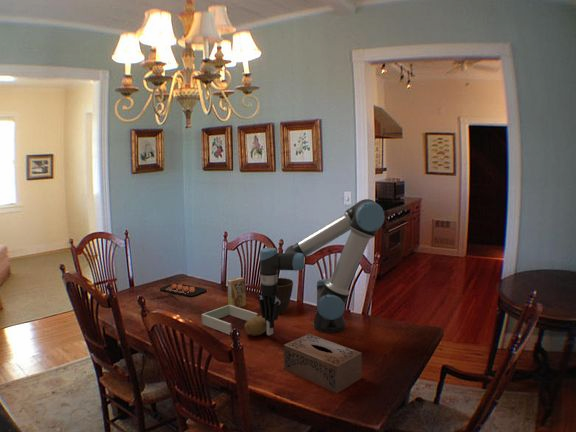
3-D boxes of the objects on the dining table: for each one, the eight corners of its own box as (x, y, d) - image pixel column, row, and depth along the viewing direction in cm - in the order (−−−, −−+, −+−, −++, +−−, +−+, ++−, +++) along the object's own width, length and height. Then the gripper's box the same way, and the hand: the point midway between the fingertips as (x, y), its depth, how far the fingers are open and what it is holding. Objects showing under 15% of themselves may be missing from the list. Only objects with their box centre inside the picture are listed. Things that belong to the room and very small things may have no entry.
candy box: (241, 303, 244) (240, 277, 242) (246, 305, 241) (245, 278, 239) (228, 307, 239) (227, 280, 237) (232, 309, 236) (231, 281, 234)
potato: (275, 330, 206) (275, 314, 205) (256, 341, 195) (256, 324, 193) (258, 326, 212) (258, 310, 210) (239, 336, 200) (239, 320, 199)
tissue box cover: (361, 378, 162) (361, 352, 160) (336, 394, 151) (336, 366, 150) (309, 357, 180) (309, 333, 178) (284, 369, 169) (283, 344, 168)
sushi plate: (209, 292, 268) (208, 286, 268) (172, 306, 243) (171, 300, 243) (175, 285, 284) (174, 279, 283) (137, 298, 258) (136, 292, 258)
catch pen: (257, 323, 216) (257, 313, 215) (230, 335, 202) (229, 324, 202) (229, 313, 229) (229, 304, 229) (201, 324, 216) (201, 314, 215)
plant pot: (299, 311, 231) (299, 282, 229) (277, 318, 221) (276, 287, 219) (281, 304, 242) (281, 276, 240) (259, 311, 233) (258, 281, 231)
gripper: (252, 282, 196) (253, 333, 199) (274, 287, 187) (275, 340, 191) (264, 278, 201) (265, 328, 205) (285, 283, 193) (286, 335, 196)
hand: (270, 334), depth 198 cm, fingers closed
